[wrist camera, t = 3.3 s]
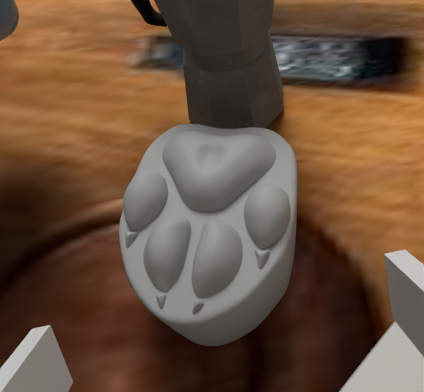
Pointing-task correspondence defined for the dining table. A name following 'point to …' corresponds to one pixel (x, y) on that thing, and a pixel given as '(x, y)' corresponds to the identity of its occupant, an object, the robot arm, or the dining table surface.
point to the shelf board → (389, 366)
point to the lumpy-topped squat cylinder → (211, 229)
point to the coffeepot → (224, 59)
